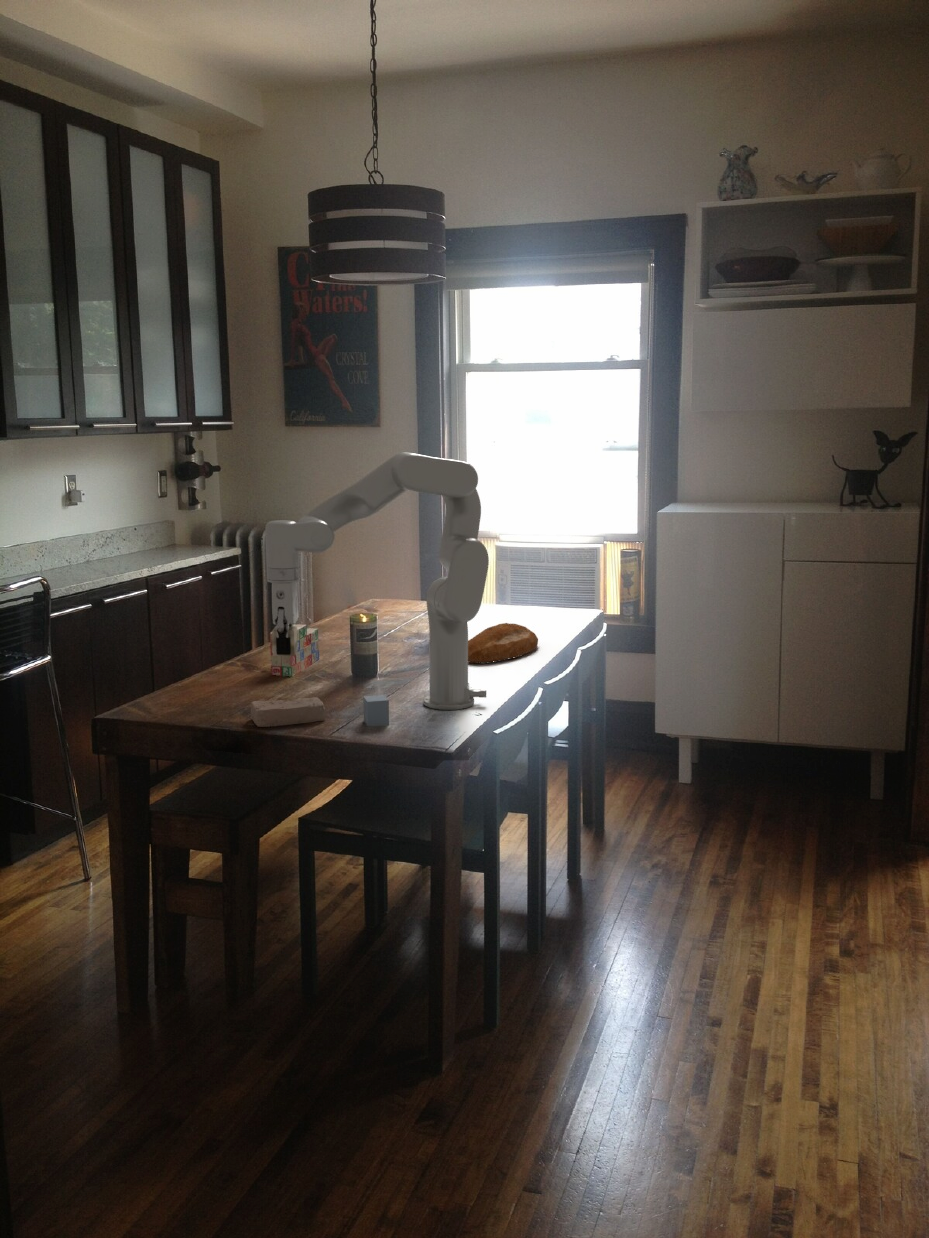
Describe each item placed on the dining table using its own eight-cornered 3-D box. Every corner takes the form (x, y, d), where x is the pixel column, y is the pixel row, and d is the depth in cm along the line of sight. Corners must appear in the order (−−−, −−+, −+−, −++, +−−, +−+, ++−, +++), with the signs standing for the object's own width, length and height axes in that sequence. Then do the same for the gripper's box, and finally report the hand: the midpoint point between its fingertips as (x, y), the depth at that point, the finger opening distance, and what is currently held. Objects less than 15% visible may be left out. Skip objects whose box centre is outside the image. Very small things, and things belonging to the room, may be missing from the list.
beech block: (297, 651, 259) (296, 626, 257) (294, 656, 254) (294, 630, 253) (276, 651, 259) (275, 626, 257) (272, 656, 254) (272, 630, 252)
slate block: (384, 719, 260) (384, 694, 259) (389, 725, 255) (388, 700, 254) (363, 720, 258) (363, 696, 257) (367, 726, 254) (367, 701, 253)
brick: (318, 712, 266) (318, 693, 265) (327, 721, 258) (326, 702, 258) (250, 720, 260) (249, 701, 259) (256, 729, 253) (255, 710, 252)
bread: (441, 661, 318) (441, 631, 316) (505, 640, 347) (506, 612, 345) (493, 669, 308) (493, 638, 307) (554, 647, 337) (555, 618, 335)
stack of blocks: (299, 658, 321) (298, 617, 319) (319, 659, 320) (318, 618, 317) (271, 676, 300) (269, 632, 298) (292, 677, 299) (291, 633, 297)
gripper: (294, 580, 244) (296, 660, 248) (304, 569, 261) (306, 643, 264) (260, 580, 244) (263, 660, 248) (272, 568, 261) (274, 643, 264)
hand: (285, 650), depth 256 cm, fingers closed on beech block, 5 cm apart
